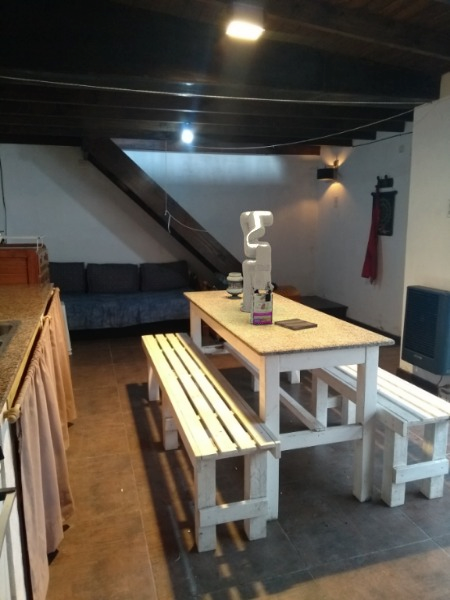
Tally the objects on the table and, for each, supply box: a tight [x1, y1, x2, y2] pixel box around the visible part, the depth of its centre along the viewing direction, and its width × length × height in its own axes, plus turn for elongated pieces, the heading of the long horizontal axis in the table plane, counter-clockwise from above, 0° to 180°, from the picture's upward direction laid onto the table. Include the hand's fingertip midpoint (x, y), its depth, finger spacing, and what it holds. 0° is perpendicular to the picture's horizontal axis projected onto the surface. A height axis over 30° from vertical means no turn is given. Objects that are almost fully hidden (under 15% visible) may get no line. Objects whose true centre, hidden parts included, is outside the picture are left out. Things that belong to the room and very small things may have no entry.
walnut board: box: [273, 317, 318, 331], centre depth 234 cm, size 16×16×2 cm
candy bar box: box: [250, 292, 274, 326], centre depth 236 cm, size 11×5×16 cm, turn 105°
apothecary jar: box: [226, 272, 243, 301], centre depth 312 cm, size 12×12×18 cm
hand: (262, 300), depth 235 cm, fingers open, 9 cm apart
